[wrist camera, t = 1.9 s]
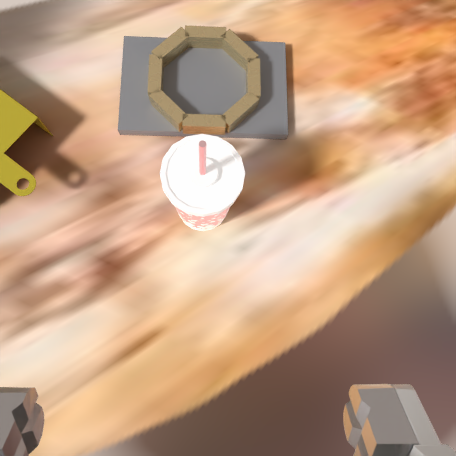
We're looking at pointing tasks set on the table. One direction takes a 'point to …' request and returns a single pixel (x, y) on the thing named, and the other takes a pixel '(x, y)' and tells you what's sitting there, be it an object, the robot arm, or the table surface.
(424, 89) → the table surface
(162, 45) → the socket
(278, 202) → the table surface
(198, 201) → the beverage cup
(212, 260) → the table surface
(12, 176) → the bracket
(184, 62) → the board
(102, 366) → the table surface
